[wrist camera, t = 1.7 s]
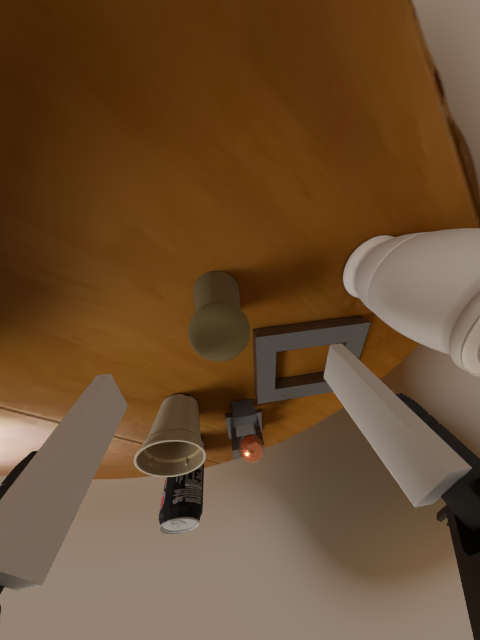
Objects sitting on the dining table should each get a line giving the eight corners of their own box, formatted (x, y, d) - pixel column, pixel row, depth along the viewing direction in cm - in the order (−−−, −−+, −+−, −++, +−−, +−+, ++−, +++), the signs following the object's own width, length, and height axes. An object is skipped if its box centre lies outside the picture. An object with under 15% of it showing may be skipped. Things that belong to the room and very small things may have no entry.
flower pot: (218, 402, 34) (220, 455, 26) (183, 427, 36) (175, 483, 28) (177, 377, 30) (165, 431, 22) (140, 407, 32) (118, 466, 24)
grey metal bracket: (228, 435, 39) (231, 465, 34) (225, 414, 35) (227, 445, 30) (260, 429, 39) (267, 458, 34) (260, 408, 36) (268, 437, 31)
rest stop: (232, 410, 35) (234, 426, 32) (231, 402, 34) (233, 418, 31) (253, 407, 35) (256, 422, 33) (252, 398, 34) (256, 414, 32)
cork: (248, 284, 24) (273, 326, 14) (227, 321, 26) (236, 380, 16) (204, 261, 22) (199, 294, 12) (185, 304, 24) (168, 360, 14)
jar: (321, 297, 26) (432, 374, 13) (357, 216, 22) (584, 208, 8) (381, 308, 28) (526, 382, 15) (425, 236, 24) (685, 255, 11)
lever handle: (253, 432, 36) (256, 450, 34) (237, 434, 36) (239, 453, 34) (262, 432, 23) (268, 461, 21) (237, 436, 23) (241, 467, 21)
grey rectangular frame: (255, 393, 34) (257, 404, 32) (252, 329, 27) (255, 337, 25) (341, 380, 35) (349, 389, 33) (360, 315, 28) (370, 322, 27)
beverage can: (181, 455, 40) (171, 538, 30) (165, 440, 37) (146, 527, 26) (209, 445, 40) (209, 525, 29) (195, 429, 36) (189, 513, 26)
